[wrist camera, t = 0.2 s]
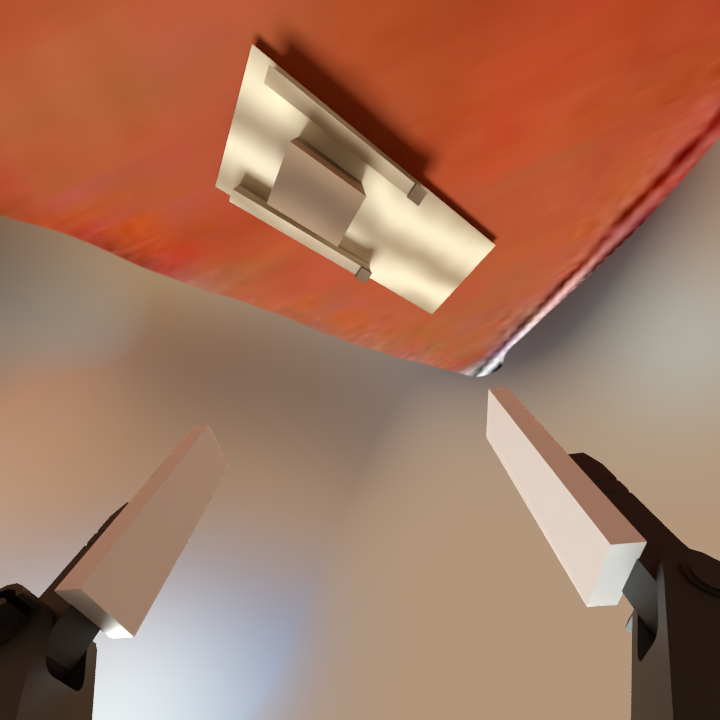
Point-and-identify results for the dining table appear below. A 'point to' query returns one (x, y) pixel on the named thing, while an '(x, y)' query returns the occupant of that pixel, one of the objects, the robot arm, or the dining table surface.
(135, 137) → the dining table surface
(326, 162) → the walnut block
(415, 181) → the railed wooden board
